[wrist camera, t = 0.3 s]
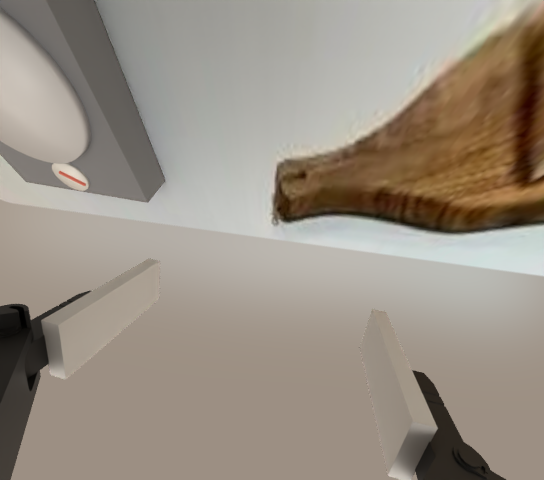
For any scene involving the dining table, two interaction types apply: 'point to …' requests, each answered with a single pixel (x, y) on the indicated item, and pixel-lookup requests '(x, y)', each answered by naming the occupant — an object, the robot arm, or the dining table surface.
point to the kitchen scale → (70, 103)
